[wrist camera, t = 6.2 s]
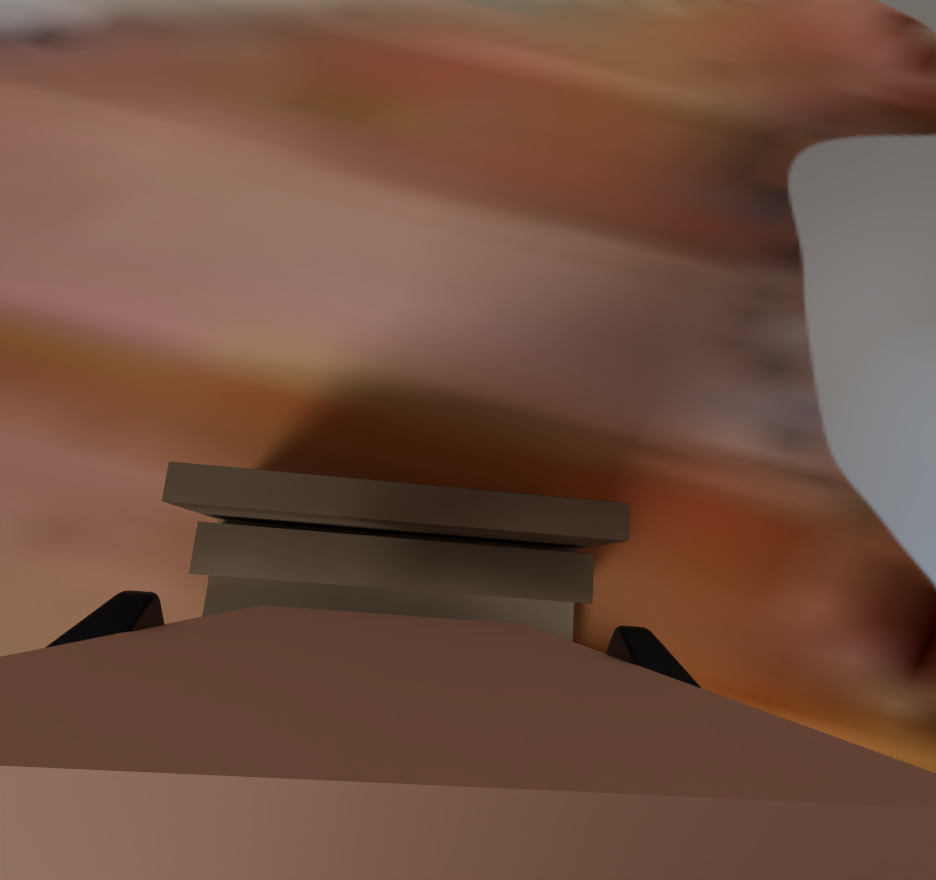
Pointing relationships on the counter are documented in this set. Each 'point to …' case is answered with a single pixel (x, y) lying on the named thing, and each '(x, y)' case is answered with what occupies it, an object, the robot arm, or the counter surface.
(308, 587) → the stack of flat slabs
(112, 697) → the beige flat slab
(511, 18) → the counter surface
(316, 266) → the counter surface
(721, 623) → the counter surface
